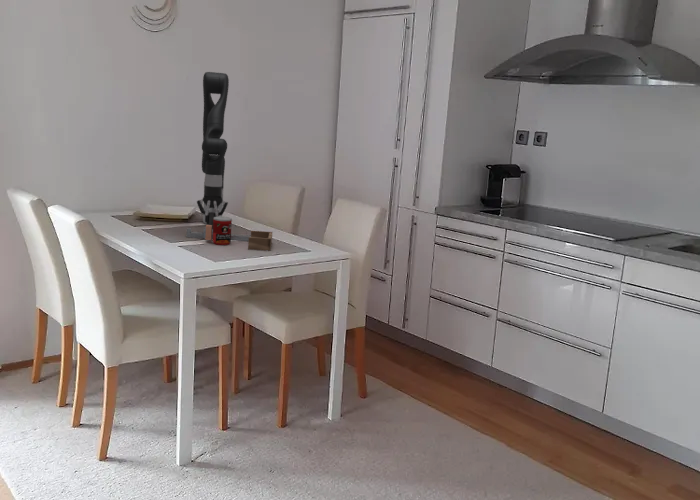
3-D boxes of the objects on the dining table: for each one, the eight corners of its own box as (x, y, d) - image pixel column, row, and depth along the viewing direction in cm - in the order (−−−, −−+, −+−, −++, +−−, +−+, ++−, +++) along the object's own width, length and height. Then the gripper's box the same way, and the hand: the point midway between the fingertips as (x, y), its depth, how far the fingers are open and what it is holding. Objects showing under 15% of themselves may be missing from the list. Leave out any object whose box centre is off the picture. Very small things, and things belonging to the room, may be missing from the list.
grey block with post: (205, 235, 294) (206, 211, 292) (218, 236, 295) (219, 212, 293) (201, 241, 282) (201, 216, 280) (215, 242, 283) (216, 217, 280)
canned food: (215, 245, 279) (216, 219, 276) (210, 241, 286) (211, 216, 283) (233, 245, 282) (234, 219, 280) (227, 241, 289) (228, 216, 287)
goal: (250, 241, 291) (251, 230, 290) (271, 243, 292) (272, 231, 291) (248, 249, 277) (248, 237, 276) (270, 250, 277) (270, 239, 276)
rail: (187, 235, 293) (187, 227, 292) (256, 240, 295) (256, 232, 295) (186, 237, 290) (186, 229, 289) (255, 241, 293) (256, 233, 292)
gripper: (230, 184, 291) (228, 223, 295) (198, 182, 290) (196, 221, 294) (228, 187, 284) (226, 226, 288) (195, 184, 283) (194, 224, 287)
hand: (211, 223), depth 291 cm, fingers closed on grey block with post, 3 cm apart
